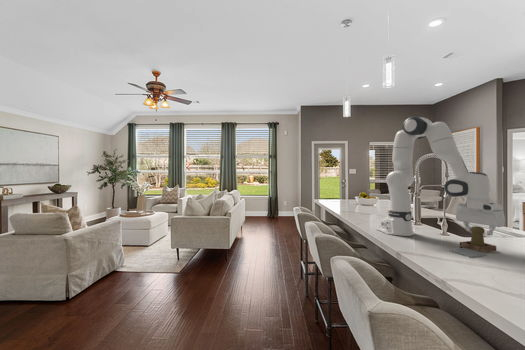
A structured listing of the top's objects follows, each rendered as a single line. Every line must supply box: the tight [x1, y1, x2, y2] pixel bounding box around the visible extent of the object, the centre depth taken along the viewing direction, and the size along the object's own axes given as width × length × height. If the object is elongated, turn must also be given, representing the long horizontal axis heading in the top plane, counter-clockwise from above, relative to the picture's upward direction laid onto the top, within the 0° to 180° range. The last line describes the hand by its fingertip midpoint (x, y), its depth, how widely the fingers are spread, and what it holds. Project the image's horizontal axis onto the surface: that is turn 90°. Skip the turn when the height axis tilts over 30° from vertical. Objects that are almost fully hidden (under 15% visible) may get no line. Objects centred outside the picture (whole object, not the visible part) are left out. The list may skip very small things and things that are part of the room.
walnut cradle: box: [459, 240, 497, 254], centre depth 126 cm, size 10×10×2 cm
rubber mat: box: [448, 247, 488, 258], centre depth 120 cm, size 10×10×1 cm
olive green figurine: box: [470, 225, 485, 247], centre depth 126 cm, size 6×6×11 cm
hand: (478, 232), depth 126 cm, fingers open, 8 cm apart
